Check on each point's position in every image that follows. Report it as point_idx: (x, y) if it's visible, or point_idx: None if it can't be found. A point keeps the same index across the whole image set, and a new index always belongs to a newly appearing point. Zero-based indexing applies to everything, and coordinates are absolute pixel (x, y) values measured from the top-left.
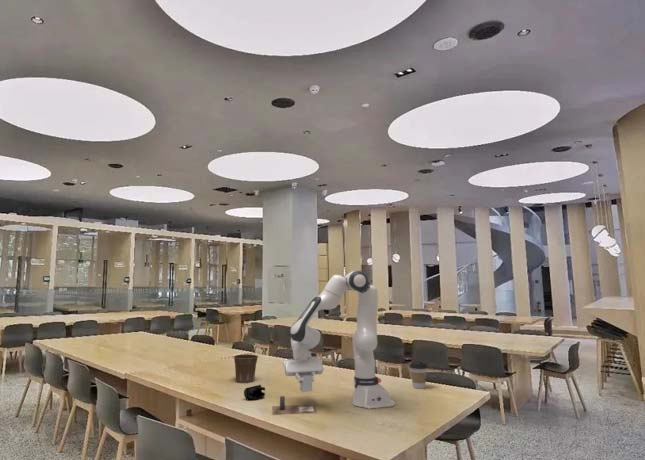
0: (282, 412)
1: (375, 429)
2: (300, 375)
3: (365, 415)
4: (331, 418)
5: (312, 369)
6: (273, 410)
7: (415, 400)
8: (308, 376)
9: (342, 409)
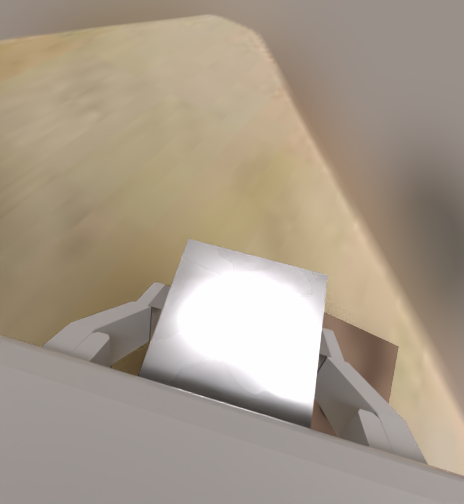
0: (345, 352)
1: (143, 93)
2: (304, 420)
3: (65, 179)
4: (183, 215)
5: (31, 381)
6: None
7: None
8: (241, 254)
9: (69, 279)
